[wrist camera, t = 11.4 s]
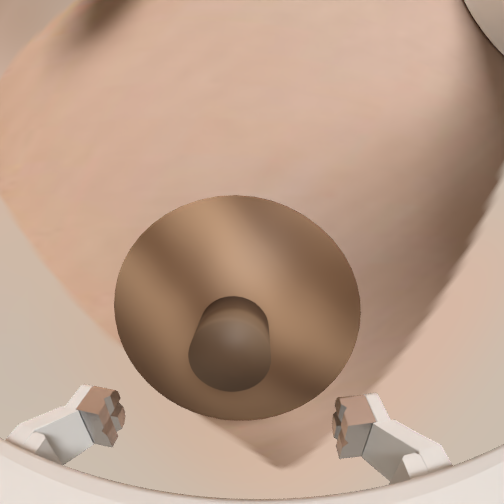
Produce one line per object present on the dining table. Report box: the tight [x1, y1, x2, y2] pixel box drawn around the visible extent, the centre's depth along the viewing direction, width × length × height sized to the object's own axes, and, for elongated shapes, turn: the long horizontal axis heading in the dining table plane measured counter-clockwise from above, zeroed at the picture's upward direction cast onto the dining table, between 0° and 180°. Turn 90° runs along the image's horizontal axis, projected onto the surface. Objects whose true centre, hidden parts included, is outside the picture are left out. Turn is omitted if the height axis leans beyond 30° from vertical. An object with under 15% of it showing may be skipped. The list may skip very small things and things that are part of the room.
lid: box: [114, 195, 361, 420], centre depth 16 cm, size 15×15×4 cm
